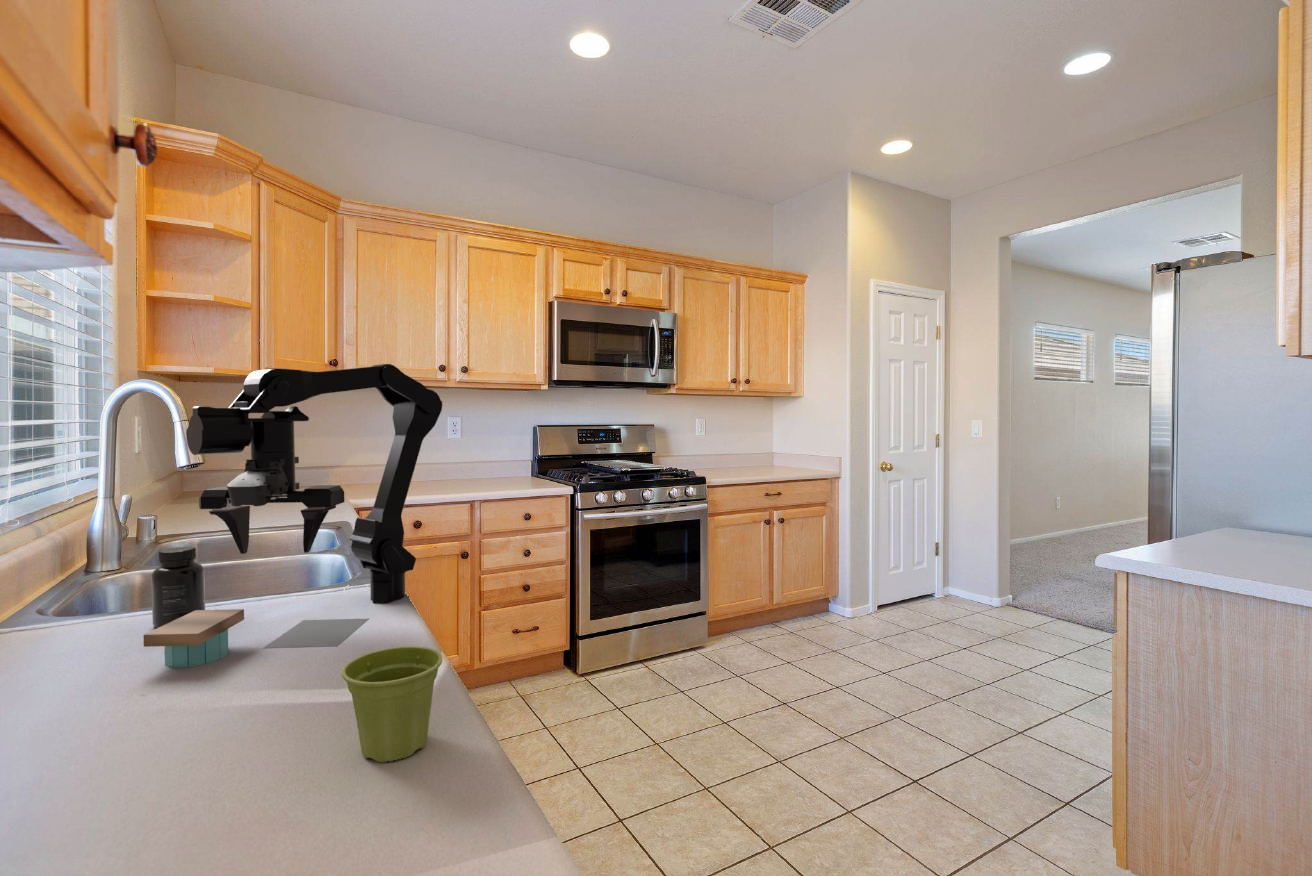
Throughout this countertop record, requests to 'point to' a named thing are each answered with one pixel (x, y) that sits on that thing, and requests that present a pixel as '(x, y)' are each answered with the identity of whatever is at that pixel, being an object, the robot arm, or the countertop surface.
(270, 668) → the countertop surface
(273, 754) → the countertop surface
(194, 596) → the supplement bottle
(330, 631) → the trivet
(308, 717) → the countertop surface
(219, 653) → the ramekin
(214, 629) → the walnut board
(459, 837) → the countertop surface
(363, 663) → the plant pot
